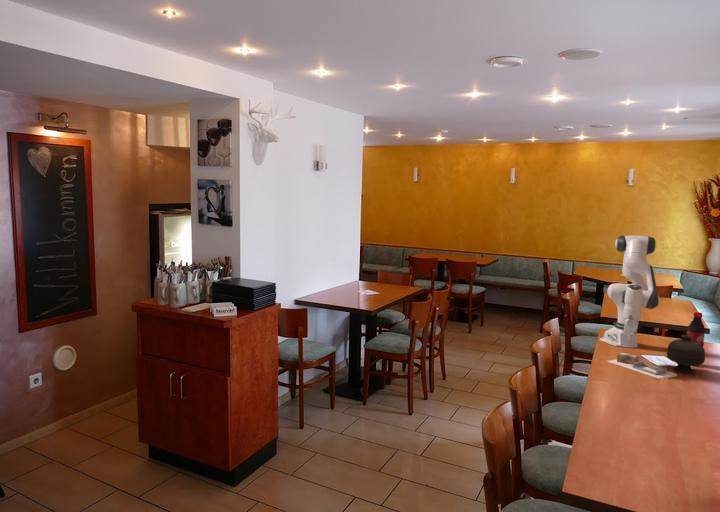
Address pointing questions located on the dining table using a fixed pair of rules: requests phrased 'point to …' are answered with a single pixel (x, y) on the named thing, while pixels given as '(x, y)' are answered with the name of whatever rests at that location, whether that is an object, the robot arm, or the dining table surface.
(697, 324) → the cola bottle
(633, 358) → the frame
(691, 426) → the dining table surface
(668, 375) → the wall panel
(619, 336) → the robot arm
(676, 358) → the pot
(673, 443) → the dining table surface
